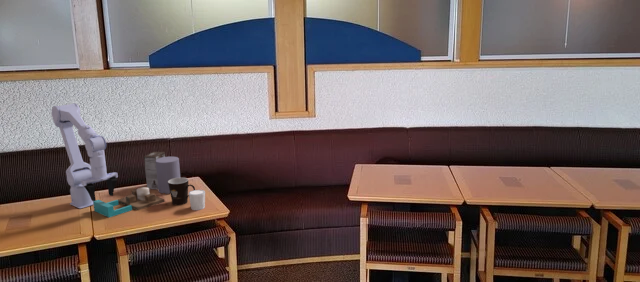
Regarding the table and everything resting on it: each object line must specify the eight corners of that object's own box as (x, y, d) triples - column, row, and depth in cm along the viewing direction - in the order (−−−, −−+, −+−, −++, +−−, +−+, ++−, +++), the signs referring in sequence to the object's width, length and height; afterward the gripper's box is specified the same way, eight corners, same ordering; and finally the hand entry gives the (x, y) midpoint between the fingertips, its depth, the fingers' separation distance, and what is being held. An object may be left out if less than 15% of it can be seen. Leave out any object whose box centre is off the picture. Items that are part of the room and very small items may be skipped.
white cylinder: (186, 208, 221) (184, 193, 219) (198, 203, 227) (197, 188, 225) (197, 211, 217) (196, 195, 216) (209, 206, 223) (208, 191, 221)
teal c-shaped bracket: (117, 204, 228) (116, 194, 227) (132, 210, 221) (131, 200, 220) (94, 211, 220) (93, 201, 219) (108, 217, 213) (107, 207, 212)
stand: (144, 194, 240) (142, 182, 239) (164, 201, 230) (163, 189, 229) (117, 202, 230) (116, 190, 229) (137, 210, 220) (136, 197, 219)
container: (154, 193, 240) (151, 162, 237) (164, 186, 250) (161, 156, 247) (176, 194, 239) (173, 162, 235) (184, 187, 249) (182, 156, 245)
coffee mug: (166, 202, 229) (164, 181, 226) (183, 197, 235) (181, 176, 232) (180, 209, 221) (178, 186, 218) (197, 203, 226) (196, 181, 224)
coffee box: (156, 183, 256) (153, 151, 252) (168, 183, 255) (165, 151, 251) (146, 189, 247) (143, 156, 243) (159, 189, 246) (156, 156, 242)
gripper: (85, 172, 205) (90, 205, 208) (120, 163, 216) (123, 195, 219) (77, 169, 209) (81, 201, 212) (111, 161, 220) (115, 191, 223)
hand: (102, 197), depth 216 cm, fingers open, 7 cm apart
